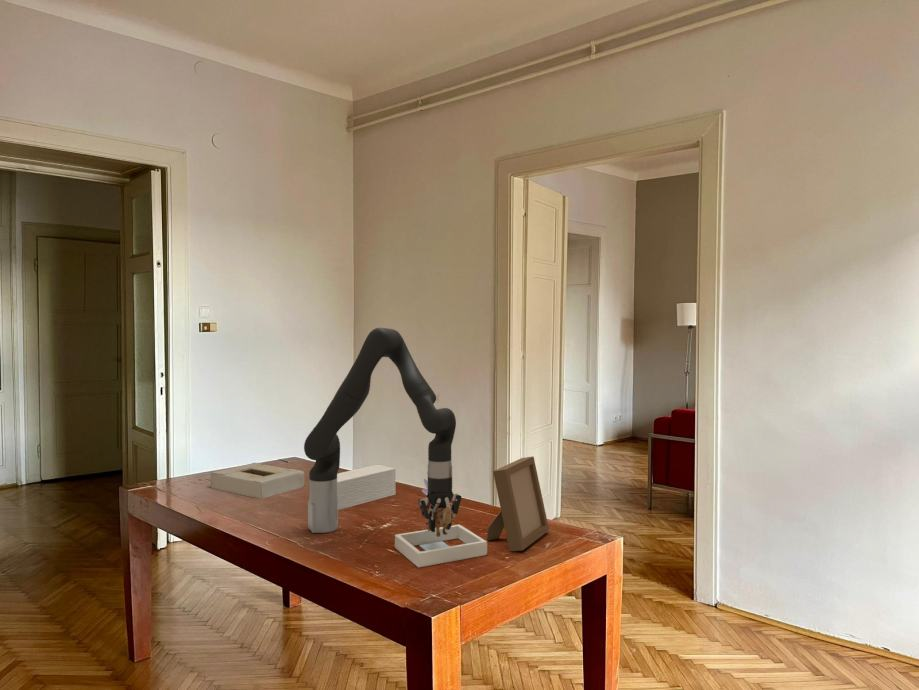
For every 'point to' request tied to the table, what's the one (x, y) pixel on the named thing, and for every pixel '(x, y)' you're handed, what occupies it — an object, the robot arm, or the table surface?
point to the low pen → (440, 546)
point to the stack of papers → (365, 485)
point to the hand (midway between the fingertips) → (440, 529)
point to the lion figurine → (442, 519)
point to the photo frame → (519, 505)
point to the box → (257, 480)
